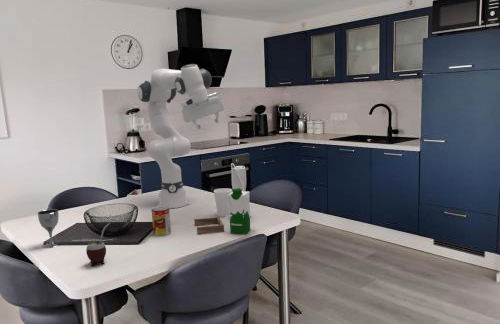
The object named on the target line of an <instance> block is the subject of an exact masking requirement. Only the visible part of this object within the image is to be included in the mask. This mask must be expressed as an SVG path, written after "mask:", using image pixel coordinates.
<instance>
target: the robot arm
mask: <svg viewBox="0 0 500 324" xmlns="http://www.w3.org/2000/svg"><path fill="white" fill-rule="evenodd" d="M150 77H151V78H150V80H144V82H143V83H140V84H139V85H138V87H137V96H138V99H139V100H140V101H141V102H142V103H148V104H147V112H148V117H149V121H150V124H151V127H152V130H153V132H154V133H155V135H158V136H159V137H162V138H159V139H158V138H157V139H154V140H152V141H150V142H149V143H148V144H147V149H146V150H147V154H148V155H149V157H150V158H151V159H153V160H155V162H156V163H157V164H158V166H159V168H160V173H161V190H160V192H159V193H158V196H159V202H158V203H157V204H156V206H168V207H169V209H176V208H182V207H185V206H188V205H190V204H191V203H190V201H189V200H188V199H187V193H186V192H187V191H186V189H184V188H183V187H184V183H183V180H182V168H181V166H180V165H178V164H177V163H174V161H173V160H172V158H176V157H182V156H185V155H187V154H189V153H190V151H191V149H192V148H191V147H192V146H191V141H190V140H189V139H188V138H187V137H185V136H183V135H182V134H180V132H178V130H177V129H176V128H175V127H174V125H173V122H172V119H171V117H170V114H169V112H168V109H167V106H166V105H167V103H168V104H170V103H171V101H172V100H174V99H175V98H176V95H177V93H179V94H181V96H183V95H184V96H185V95H188V98H186V99H185V100H183V101H182V102H181V107H182V110H181V113H182V117H183V121H184V122H185V123H191V122H192V124H193V125H195V126H196V129H197V130H200V129H202V127H201V124H199V123H197V120H199V119H202V118H206V117H208V116H210V115H211V116H212V115H214V116H215V119H214V122H215V123H216V124H218V123H219V122H220V120H219V117H220V114H219V113H220V112H224V110H225V105H224V104H223V102H222V97H221V94H220V93H217V92H214V93H211V94H208V91H207V89H209V88H210V86H211V85H212V81H213V78H212V74H211V73H210V72H209V71H208V70H207V69H205V68H200V67H199V66H198V64H195V63H190V64H185V65H183V66H182V67H181V68H180V70H179V69H170V68H158V69H155V70H154V71H152V73H151V76H150Z"/></svg>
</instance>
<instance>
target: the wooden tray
mask: <svg viewBox="0 0 500 324" xmlns="http://www.w3.org/2000/svg"><path fill="white" fill-rule="evenodd" d="M193 221H194V226H195V227H196V234H197V236H198V235H206V234H216V233H224V232H225V225H224V222H223V221H222V219H221V216H215V217H214V216H213V217H205V218H194V220H193Z"/></svg>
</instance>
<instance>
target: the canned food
mask: <svg viewBox="0 0 500 324" xmlns="http://www.w3.org/2000/svg"><path fill="white" fill-rule="evenodd" d="M151 221H152V234H153V235H154V236H156V237H165V236H168V235H170V234H171V231H172V229H171V216H170V208H169V207H168V206H157V205H156V206H153V207H151Z"/></svg>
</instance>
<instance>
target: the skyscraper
mask: <svg viewBox="0 0 500 324" xmlns="http://www.w3.org/2000/svg"><path fill="white" fill-rule="evenodd" d="M230 167H231V186H232V188H231V189H232V190H233V189H242V191H246V188H247V170H246V167H245V165H235V164H234V163H230Z"/></svg>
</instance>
